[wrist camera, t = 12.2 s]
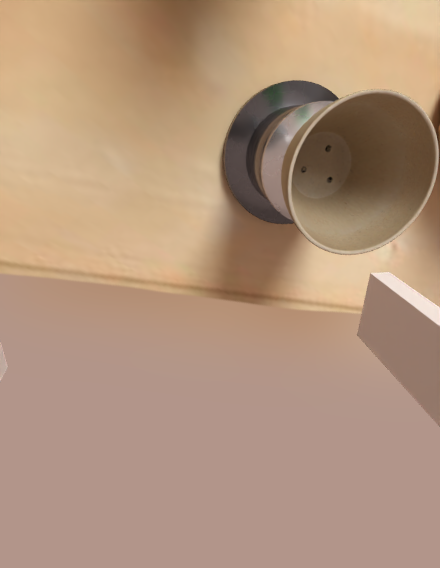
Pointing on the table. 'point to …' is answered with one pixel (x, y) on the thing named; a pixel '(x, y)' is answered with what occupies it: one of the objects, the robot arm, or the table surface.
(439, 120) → the table surface
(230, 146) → the grey top hat
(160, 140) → the table surface
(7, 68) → the table surface
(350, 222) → the flower pot
